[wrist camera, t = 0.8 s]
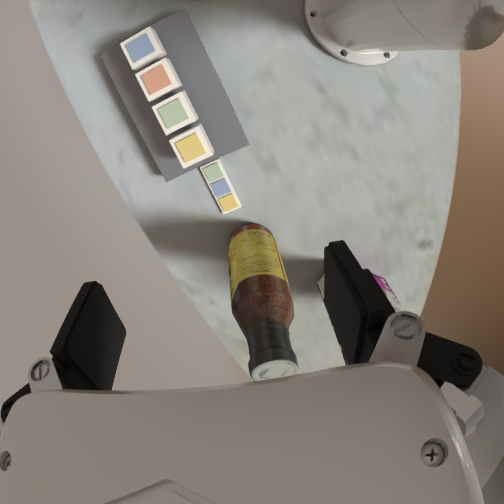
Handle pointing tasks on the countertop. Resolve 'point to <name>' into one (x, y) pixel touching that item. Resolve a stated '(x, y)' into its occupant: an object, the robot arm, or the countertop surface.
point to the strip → (220, 186)
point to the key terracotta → (158, 79)
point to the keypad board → (194, 84)
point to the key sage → (175, 112)
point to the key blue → (143, 48)
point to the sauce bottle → (261, 302)
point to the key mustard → (192, 146)
